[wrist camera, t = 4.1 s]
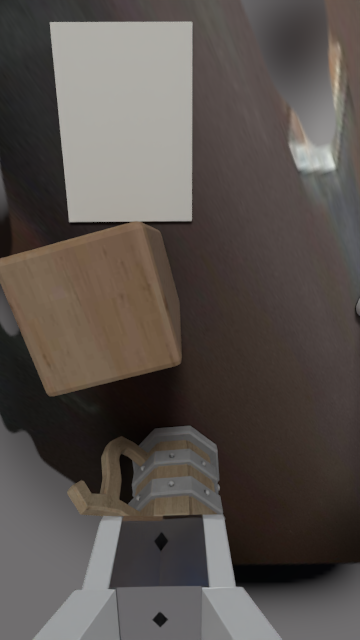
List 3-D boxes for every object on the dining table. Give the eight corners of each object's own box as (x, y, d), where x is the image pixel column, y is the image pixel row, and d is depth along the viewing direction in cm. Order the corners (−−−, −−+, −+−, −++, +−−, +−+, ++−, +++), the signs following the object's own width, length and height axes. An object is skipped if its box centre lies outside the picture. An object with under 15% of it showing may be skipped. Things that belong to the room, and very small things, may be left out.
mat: (191, 221, 37) (191, 220, 37) (70, 222, 37) (69, 221, 37) (192, 23, 32) (192, 21, 32) (50, 24, 32) (49, 22, 32)
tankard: (234, 457, 46) (260, 556, 32) (181, 508, 49) (182, 622, 34) (130, 381, 43) (107, 453, 28) (79, 440, 45) (33, 534, 31)
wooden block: (160, 229, 37) (141, 218, 18) (180, 305, 40) (183, 366, 21) (83, 250, 38) (-13, 261, 19) (108, 323, 41) (46, 400, 21)
